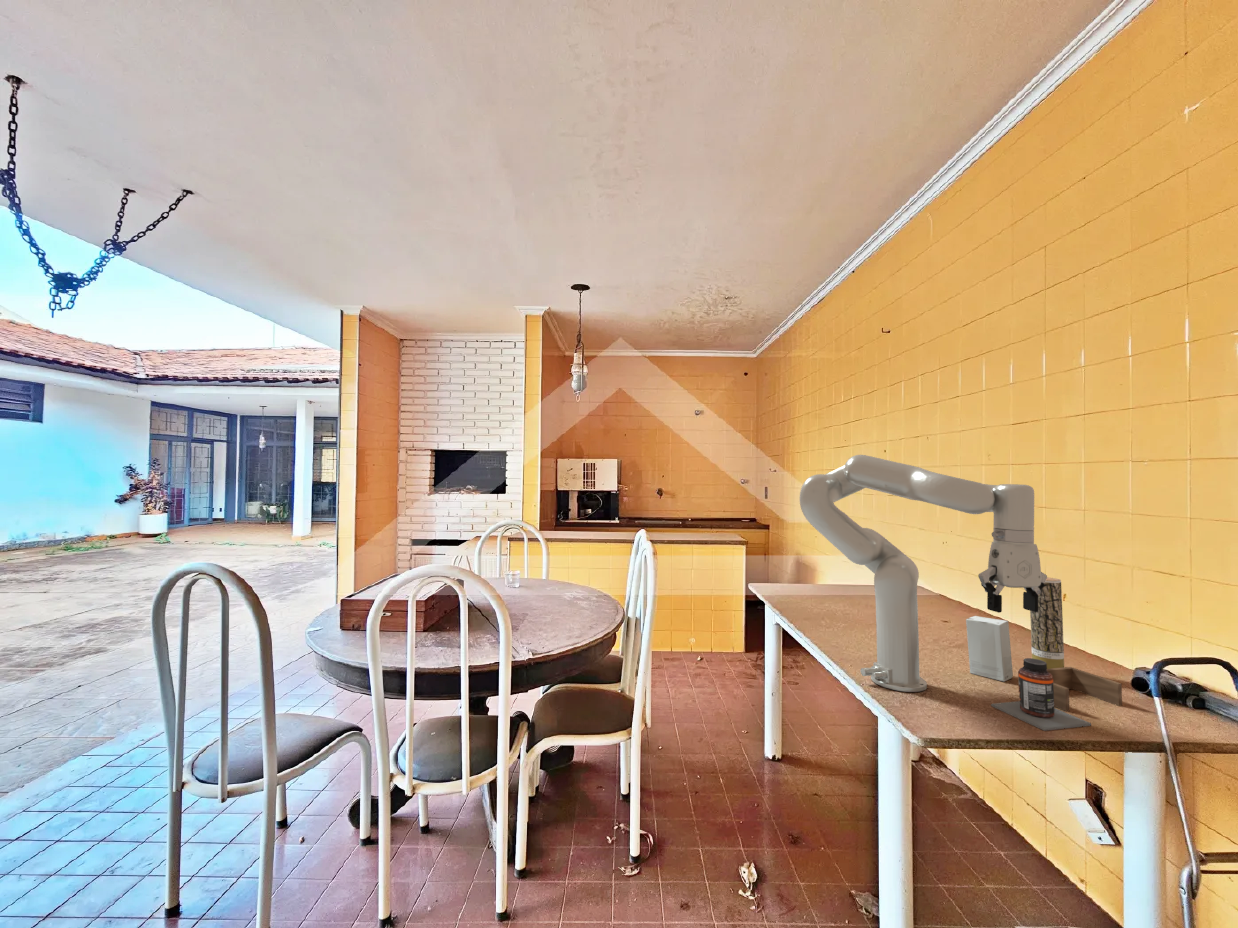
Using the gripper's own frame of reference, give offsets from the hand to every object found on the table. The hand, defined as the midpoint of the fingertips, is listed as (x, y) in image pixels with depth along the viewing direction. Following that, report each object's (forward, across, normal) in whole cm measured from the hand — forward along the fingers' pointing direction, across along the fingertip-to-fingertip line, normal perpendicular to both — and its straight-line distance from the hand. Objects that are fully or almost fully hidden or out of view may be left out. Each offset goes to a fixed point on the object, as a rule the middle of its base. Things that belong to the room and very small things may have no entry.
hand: (1012, 610), depth 118 cm
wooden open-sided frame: (+21, +16, +1) cm, 27 cm away
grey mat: (+21, +1, -6) cm, 22 cm away
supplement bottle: (+21, 0, -6) cm, 22 cm away
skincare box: (+22, +11, +16) cm, 30 cm away
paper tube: (+21, +30, +17) cm, 41 cm away
